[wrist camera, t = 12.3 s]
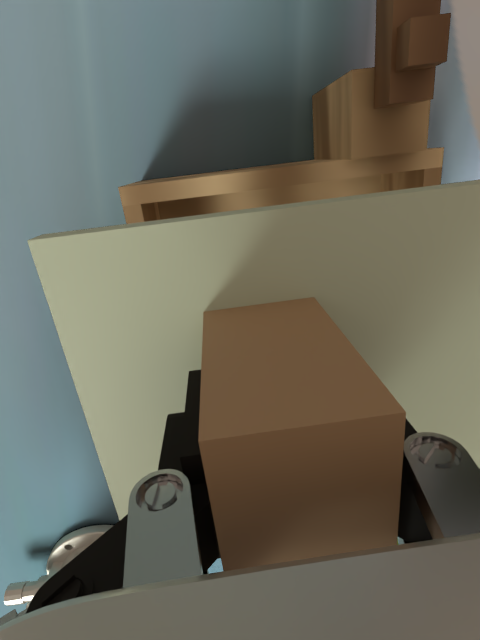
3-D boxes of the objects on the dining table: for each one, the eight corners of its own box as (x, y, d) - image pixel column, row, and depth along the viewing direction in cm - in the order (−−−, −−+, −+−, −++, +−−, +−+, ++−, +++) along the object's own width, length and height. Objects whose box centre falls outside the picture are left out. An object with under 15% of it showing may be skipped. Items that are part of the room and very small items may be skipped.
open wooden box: (171, 331, 32) (159, 383, 24) (128, 117, 25) (93, 100, 18) (383, 304, 32) (433, 348, 25) (392, 86, 26) (464, 56, 18)
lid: (134, 482, 17) (72, 744, 9) (59, 227, 13) (-175, 323, 5) (506, 428, 18) (741, 636, 10) (558, 164, 13) (1058, 162, 5)
